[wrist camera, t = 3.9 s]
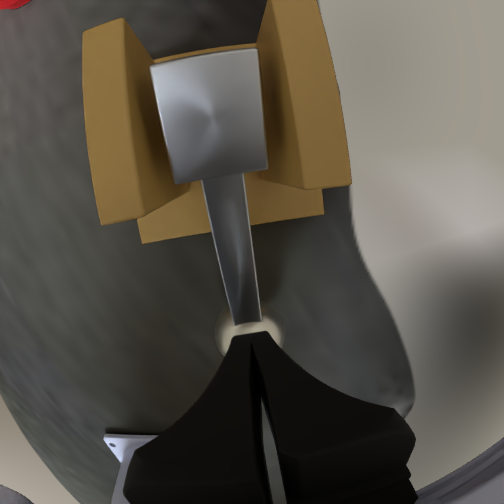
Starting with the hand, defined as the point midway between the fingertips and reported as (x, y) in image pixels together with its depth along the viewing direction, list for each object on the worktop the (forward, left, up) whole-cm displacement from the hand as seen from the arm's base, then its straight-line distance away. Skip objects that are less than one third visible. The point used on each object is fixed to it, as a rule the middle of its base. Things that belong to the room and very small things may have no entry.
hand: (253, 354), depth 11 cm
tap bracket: (+8, 0, -4) cm, 9 cm away
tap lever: (+5, 0, -1) cm, 5 cm away
